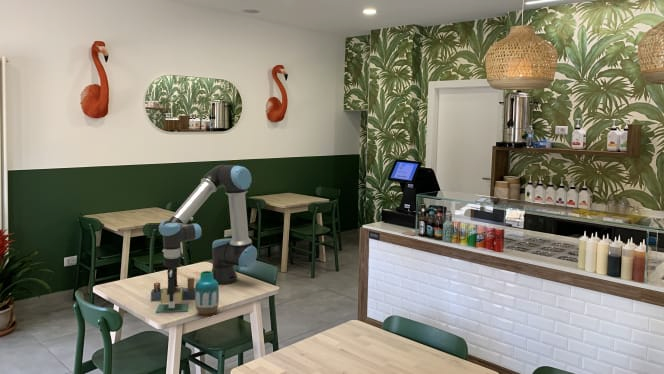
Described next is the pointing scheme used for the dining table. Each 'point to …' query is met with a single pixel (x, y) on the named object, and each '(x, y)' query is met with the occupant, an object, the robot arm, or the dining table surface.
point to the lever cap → (177, 291)
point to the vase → (206, 293)
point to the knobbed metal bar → (188, 292)
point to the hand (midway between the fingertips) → (172, 304)
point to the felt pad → (178, 308)
